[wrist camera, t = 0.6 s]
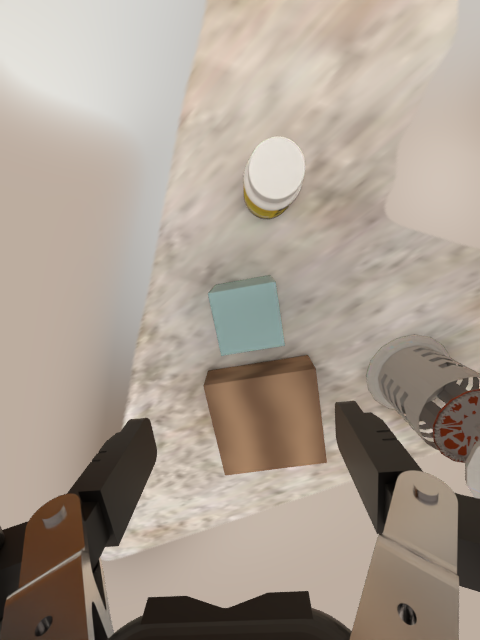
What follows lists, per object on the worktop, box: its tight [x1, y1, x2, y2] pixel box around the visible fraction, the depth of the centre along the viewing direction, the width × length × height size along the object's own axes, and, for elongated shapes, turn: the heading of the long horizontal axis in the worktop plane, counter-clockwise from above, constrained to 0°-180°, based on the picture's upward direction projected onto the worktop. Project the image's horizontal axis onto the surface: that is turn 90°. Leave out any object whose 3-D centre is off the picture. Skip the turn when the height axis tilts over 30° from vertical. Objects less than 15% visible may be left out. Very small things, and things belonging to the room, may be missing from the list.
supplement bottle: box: [243, 136, 305, 219], centre depth 22 cm, size 5×5×8 cm
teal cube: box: [208, 275, 285, 356], centre depth 26 cm, size 6×6×6 cm
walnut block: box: [204, 355, 327, 475], centre depth 31 cm, size 12×12×4 cm
